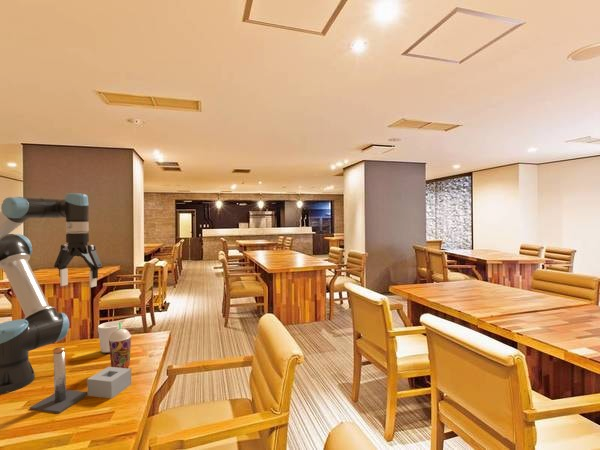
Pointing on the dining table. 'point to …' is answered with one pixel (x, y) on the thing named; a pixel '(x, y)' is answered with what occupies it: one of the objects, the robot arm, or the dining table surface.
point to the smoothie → (120, 348)
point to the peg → (59, 374)
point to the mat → (59, 407)
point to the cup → (106, 334)
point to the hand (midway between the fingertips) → (78, 286)
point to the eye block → (109, 382)
